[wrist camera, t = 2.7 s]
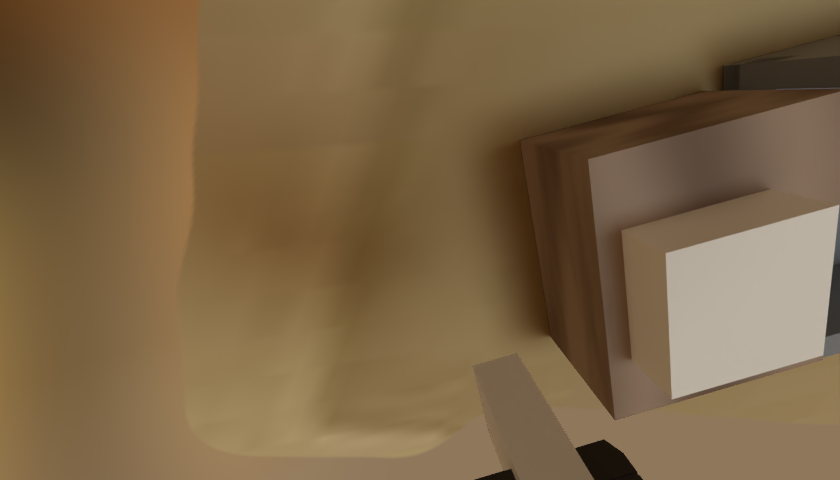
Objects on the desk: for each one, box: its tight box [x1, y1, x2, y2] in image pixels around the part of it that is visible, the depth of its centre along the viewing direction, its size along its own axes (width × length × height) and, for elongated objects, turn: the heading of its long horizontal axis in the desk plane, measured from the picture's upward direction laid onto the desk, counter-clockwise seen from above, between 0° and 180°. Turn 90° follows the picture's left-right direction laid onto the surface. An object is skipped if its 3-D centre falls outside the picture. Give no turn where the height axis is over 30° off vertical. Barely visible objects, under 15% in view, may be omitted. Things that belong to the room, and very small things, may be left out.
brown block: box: [520, 88, 840, 420], centre depth 20 cm, size 10×12×7 cm
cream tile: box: [621, 189, 839, 399], centre depth 16 cm, size 6×6×2 cm
